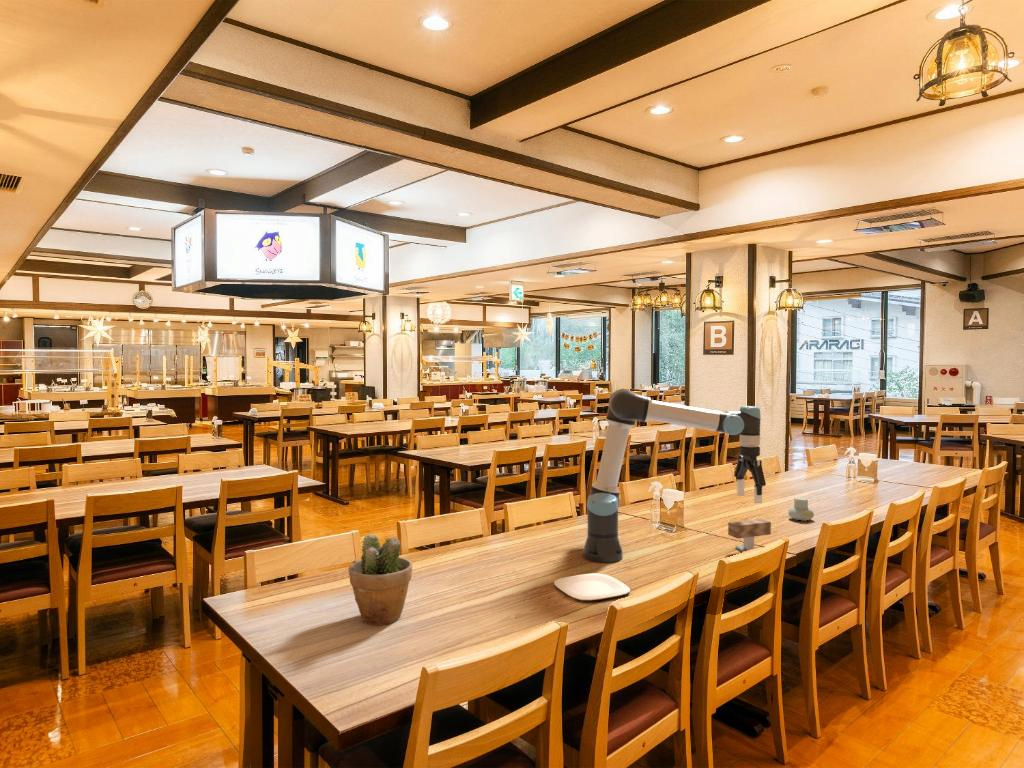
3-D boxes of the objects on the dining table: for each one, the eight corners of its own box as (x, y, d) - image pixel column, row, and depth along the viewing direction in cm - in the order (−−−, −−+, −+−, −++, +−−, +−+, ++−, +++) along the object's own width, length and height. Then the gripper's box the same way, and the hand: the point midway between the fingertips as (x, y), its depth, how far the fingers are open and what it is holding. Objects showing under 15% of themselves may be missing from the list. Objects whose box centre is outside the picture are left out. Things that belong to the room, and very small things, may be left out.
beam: (737, 538, 243) (737, 525, 243) (728, 534, 248) (728, 522, 248) (770, 534, 248) (770, 521, 248) (760, 531, 253) (760, 518, 253)
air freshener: (803, 516, 303) (803, 496, 302) (816, 520, 295) (817, 499, 295) (785, 518, 299) (785, 497, 299) (798, 522, 292) (798, 501, 291)
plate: (578, 607, 193) (578, 601, 193) (547, 584, 213) (547, 579, 213) (638, 596, 202) (638, 591, 202) (602, 575, 222) (602, 570, 222)
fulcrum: (745, 554, 244) (745, 537, 244) (735, 548, 252) (735, 532, 252) (762, 553, 245) (762, 537, 245) (751, 547, 253) (752, 531, 252)
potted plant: (335, 625, 179) (334, 538, 179) (372, 602, 197) (371, 523, 196) (391, 635, 173) (390, 545, 172) (424, 610, 190) (423, 528, 189)
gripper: (776, 449, 235) (775, 506, 236) (743, 441, 260) (742, 492, 260) (757, 450, 234) (756, 506, 235) (725, 441, 259) (725, 492, 259)
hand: (749, 499), depth 248 cm, fingers open, 13 cm apart
